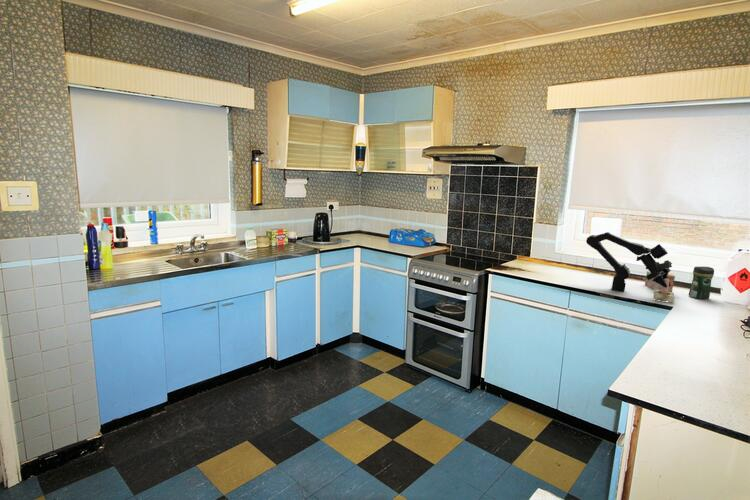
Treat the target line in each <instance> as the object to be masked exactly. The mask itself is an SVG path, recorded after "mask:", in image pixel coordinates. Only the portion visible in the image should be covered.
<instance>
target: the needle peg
mask: <svg viewBox="0 0 750 500" xmlns="http://www.w3.org/2000/svg"><path fill="white" fill-rule="evenodd" d="M664 281H665V283H666V284H667V286H668V287H669V279H664ZM668 287H667V288H665V287H663V286H662V290H661V294H666V295H667V292H668Z"/></svg>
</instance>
